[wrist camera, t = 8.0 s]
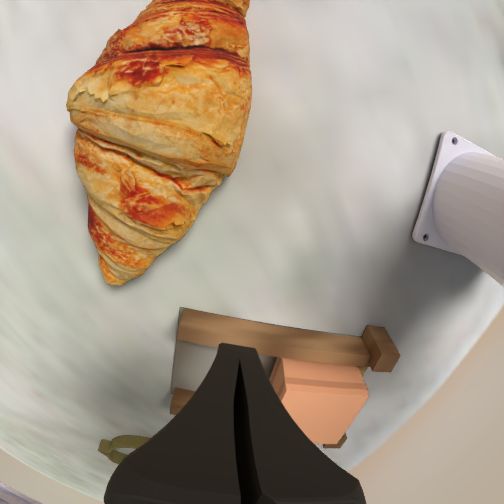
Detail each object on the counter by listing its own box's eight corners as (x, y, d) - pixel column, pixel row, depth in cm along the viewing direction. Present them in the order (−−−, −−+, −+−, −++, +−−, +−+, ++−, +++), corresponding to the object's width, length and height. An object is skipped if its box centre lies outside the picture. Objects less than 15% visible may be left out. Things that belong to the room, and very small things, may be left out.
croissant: (173, 263, 25) (209, 332, 19) (45, 252, 19) (36, 330, 13) (265, -2, 17) (343, -22, 11) (130, -50, 11) (156, -109, 5)
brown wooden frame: (384, 327, 23) (400, 355, 20) (333, 420, 27) (339, 448, 24) (182, 293, 22) (172, 322, 18) (170, 400, 26) (163, 429, 23)
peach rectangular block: (354, 355, 23) (370, 395, 19) (327, 406, 26) (336, 444, 22) (280, 346, 23) (285, 389, 19) (260, 400, 25) (262, 441, 21)
